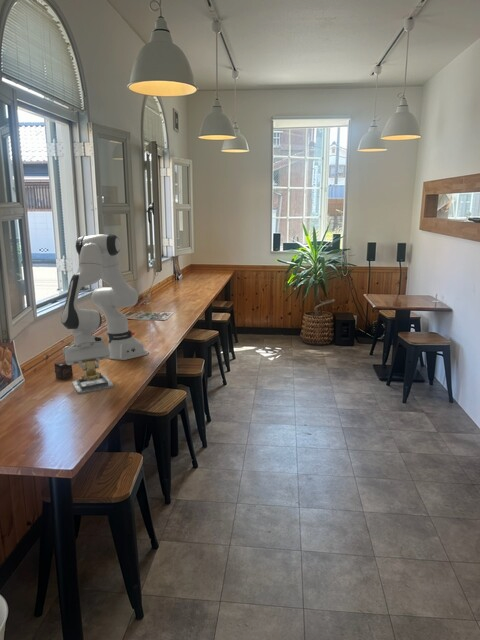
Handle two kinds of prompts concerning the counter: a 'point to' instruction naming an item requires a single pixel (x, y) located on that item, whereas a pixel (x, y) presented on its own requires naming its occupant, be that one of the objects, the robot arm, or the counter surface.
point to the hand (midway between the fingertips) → (90, 368)
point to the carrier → (92, 384)
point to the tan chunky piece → (90, 371)
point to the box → (63, 370)
